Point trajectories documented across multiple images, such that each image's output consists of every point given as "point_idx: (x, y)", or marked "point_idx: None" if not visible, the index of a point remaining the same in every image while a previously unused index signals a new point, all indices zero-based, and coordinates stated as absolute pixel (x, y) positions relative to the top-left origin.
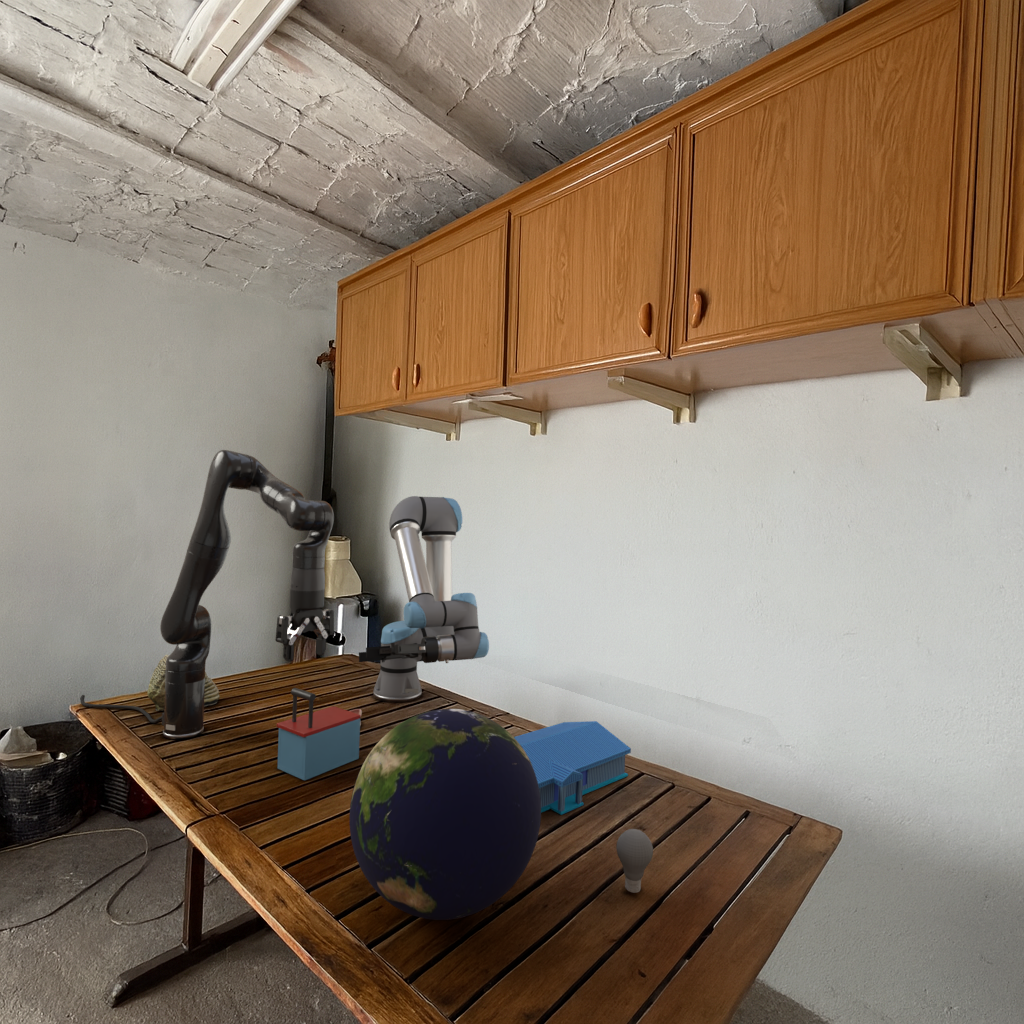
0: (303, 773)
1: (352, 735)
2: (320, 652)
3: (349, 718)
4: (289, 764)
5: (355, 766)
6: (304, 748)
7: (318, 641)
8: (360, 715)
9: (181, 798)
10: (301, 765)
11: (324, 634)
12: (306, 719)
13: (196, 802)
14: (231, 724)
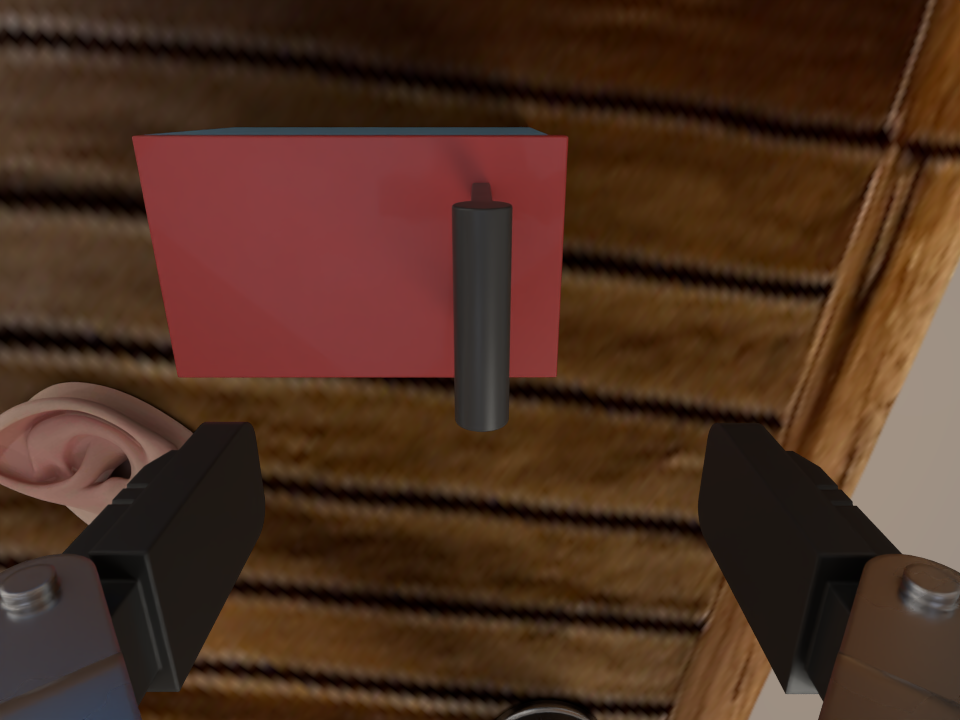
0: None
1: (234, 131)
2: (244, 455)
3: (221, 138)
4: None
5: (293, 72)
6: None
7: (188, 607)
8: (3, 413)
9: (870, 344)
10: None
11: (39, 623)
12: (415, 313)
13: (868, 281)
14: (399, 711)
